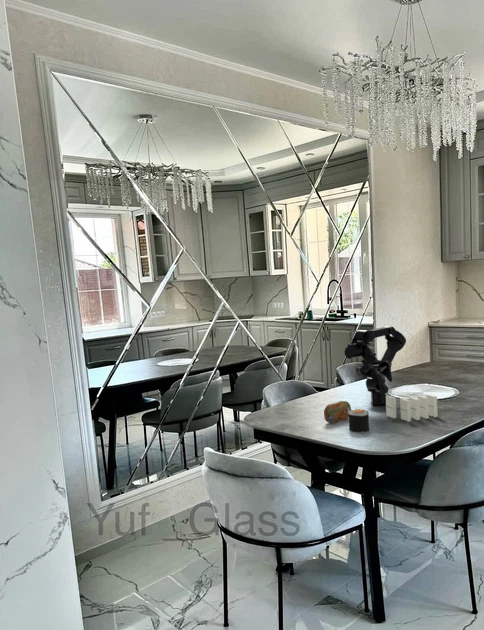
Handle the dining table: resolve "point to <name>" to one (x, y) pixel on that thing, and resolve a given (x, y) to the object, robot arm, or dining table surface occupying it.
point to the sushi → (358, 420)
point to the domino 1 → (391, 406)
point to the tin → (337, 412)
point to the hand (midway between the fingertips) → (385, 382)
